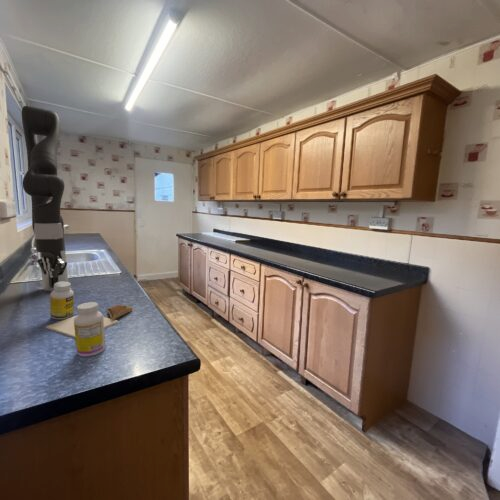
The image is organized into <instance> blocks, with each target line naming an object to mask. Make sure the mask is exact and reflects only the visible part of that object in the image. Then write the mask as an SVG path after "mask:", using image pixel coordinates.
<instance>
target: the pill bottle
mask: <svg viewBox="0 0 500 500" xmlns="http://www.w3.org/2000/svg"><path fill="white" fill-rule="evenodd" d="M54 289H55V290H53V291H50V302H49V303H50V306H49V307H50V317H51V318H52V319H54V320H65V319H68V318H71V317H73V315H74V306H75V305H74V303H75V301H74V299H75V298H74V297H75V293H74V290H72V284H71V282H70V281H68V282H65V281H62V282H57V283H55V284H54Z"/></svg>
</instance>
